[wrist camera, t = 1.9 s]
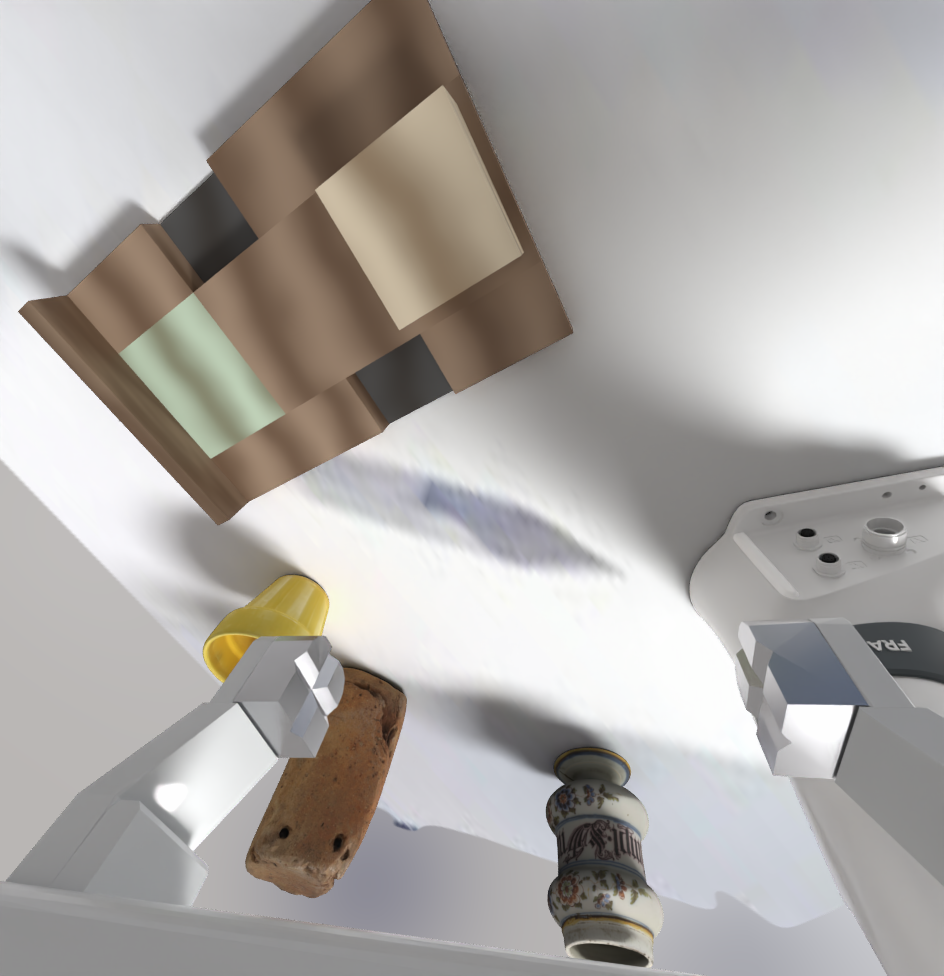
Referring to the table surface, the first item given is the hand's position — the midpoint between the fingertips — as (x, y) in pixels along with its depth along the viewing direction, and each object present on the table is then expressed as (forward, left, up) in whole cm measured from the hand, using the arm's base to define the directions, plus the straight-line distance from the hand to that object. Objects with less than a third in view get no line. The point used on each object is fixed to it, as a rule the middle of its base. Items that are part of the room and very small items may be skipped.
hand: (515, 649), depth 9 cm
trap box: (+15, -10, -28) cm, 33 cm away
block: (+38, +29, -28) cm, 55 cm away
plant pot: (+36, +13, -28) cm, 47 cm away
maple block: (+3, -10, -26) cm, 28 cm away
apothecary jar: (+18, +53, -28) cm, 63 cm away
